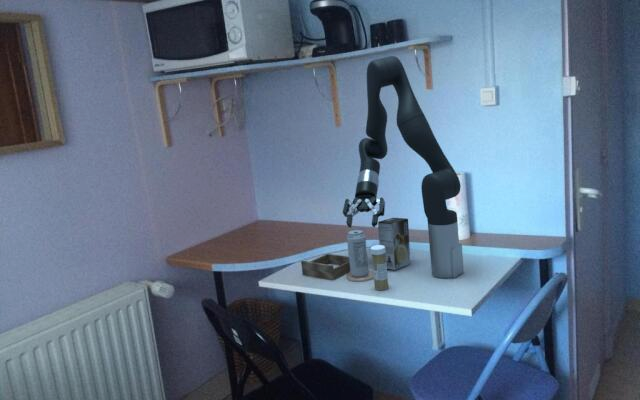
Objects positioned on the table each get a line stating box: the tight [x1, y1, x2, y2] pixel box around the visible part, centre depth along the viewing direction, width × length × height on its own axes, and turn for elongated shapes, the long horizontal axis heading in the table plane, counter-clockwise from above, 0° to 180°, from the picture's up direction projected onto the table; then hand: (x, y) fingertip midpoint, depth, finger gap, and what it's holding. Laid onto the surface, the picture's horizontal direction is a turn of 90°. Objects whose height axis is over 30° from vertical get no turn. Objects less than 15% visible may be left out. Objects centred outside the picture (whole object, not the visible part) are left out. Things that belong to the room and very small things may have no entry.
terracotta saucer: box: [345, 269, 374, 283], centre depth 185 cm, size 10×10×1 cm
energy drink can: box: [346, 229, 370, 278], centre depth 183 cm, size 6×6×15 cm
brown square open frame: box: [300, 253, 351, 281], centre depth 194 cm, size 14×14×5 cm
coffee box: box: [377, 217, 411, 271], centre depth 189 cm, size 9×6×16 cm
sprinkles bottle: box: [370, 244, 390, 291], centre depth 171 cm, size 5×5×13 cm
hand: (361, 226), depth 187 cm, fingers open, 8 cm apart
